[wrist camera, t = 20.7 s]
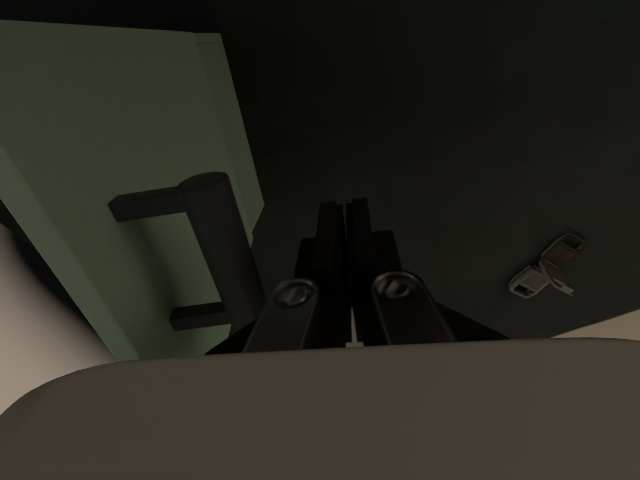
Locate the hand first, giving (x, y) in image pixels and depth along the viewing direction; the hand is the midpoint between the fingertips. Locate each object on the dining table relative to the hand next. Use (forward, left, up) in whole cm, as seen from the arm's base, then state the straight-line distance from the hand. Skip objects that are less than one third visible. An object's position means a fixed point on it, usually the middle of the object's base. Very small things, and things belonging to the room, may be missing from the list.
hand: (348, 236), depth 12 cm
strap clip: (+18, +20, -20) cm, 33 cm away
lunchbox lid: (0, -9, -5) cm, 10 cm away
